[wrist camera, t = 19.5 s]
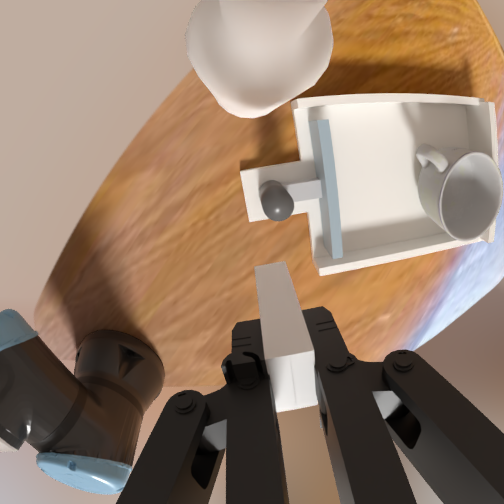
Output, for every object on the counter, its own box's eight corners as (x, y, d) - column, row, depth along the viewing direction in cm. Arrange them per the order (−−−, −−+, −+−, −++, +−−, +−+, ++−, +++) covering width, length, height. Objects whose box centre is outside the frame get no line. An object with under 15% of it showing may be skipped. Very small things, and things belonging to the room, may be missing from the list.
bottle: (210, 116, 32) (80, 68, 5) (215, 52, 29) (147, -145, 2) (282, 121, 33) (457, 104, 5) (286, 56, 30) (426, -110, 2)
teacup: (477, 185, 35) (513, 200, 28) (433, 237, 38) (465, 260, 31) (428, 108, 31) (466, 108, 24) (376, 163, 34) (409, 174, 27)
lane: (258, 271, 40) (262, 295, 34) (229, 111, 32) (226, 107, 27) (469, 230, 39) (493, 245, 33) (466, 98, 31) (493, 98, 26)
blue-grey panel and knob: (269, 255, 38) (274, 278, 32) (247, 129, 32) (248, 130, 26) (333, 244, 37) (348, 264, 32) (318, 120, 32) (334, 118, 26)
